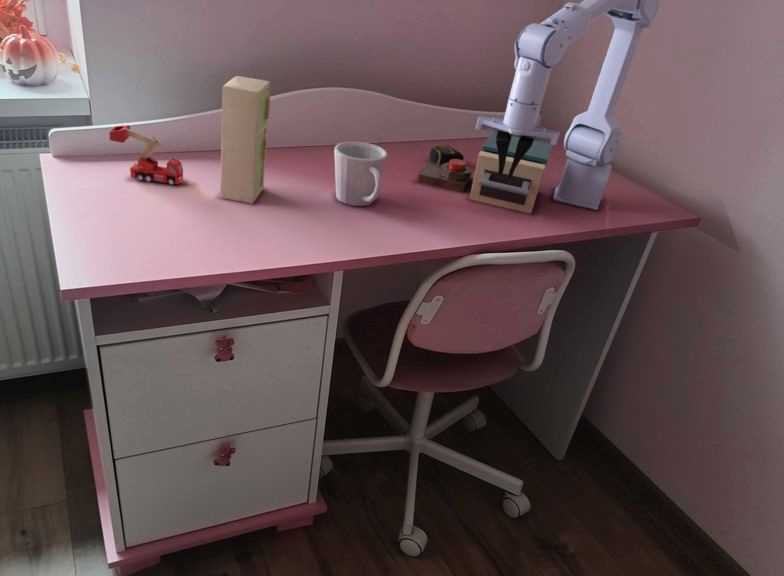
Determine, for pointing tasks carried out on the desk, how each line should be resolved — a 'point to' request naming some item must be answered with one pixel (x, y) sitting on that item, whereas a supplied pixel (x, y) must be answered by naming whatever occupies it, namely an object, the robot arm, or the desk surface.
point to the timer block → (445, 177)
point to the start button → (457, 165)
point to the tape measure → (444, 154)
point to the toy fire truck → (148, 159)
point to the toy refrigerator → (244, 138)
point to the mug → (358, 172)
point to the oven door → (506, 183)
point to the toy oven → (534, 154)
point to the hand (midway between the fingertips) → (505, 174)
